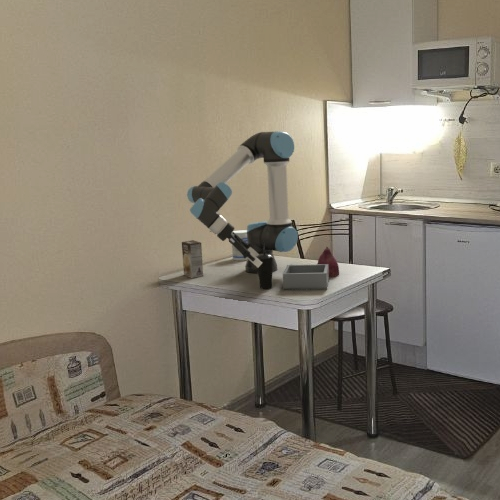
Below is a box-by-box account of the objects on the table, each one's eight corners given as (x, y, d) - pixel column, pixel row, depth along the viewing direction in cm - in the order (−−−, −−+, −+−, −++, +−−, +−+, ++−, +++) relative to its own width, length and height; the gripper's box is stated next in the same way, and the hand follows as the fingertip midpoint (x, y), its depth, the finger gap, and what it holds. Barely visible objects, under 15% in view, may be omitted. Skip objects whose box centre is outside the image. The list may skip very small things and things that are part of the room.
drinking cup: (256, 286, 299) (253, 240, 295) (273, 285, 300) (271, 239, 296) (257, 290, 291) (255, 243, 288) (276, 289, 292) (273, 242, 288)
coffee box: (183, 275, 330) (180, 241, 327) (195, 273, 333) (193, 239, 330) (191, 278, 322) (189, 244, 319) (204, 276, 326) (201, 242, 323)
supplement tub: (247, 261, 354) (245, 233, 351) (229, 261, 357) (228, 232, 355) (253, 257, 363) (252, 229, 360) (236, 257, 366) (235, 229, 364)
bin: (287, 280, 307) (287, 265, 306) (329, 279, 304) (328, 264, 303) (283, 290, 289) (282, 274, 288) (327, 289, 286) (326, 273, 285)
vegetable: (337, 284, 309) (340, 253, 302) (314, 281, 311) (316, 251, 304) (339, 273, 318) (342, 243, 312) (317, 270, 320) (319, 241, 314)
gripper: (217, 230, 303) (253, 262, 305) (215, 240, 278) (254, 274, 281) (228, 217, 302) (264, 250, 305) (227, 226, 277) (266, 261, 280)
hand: (259, 262), depth 293 cm, fingers open, 13 cm apart
